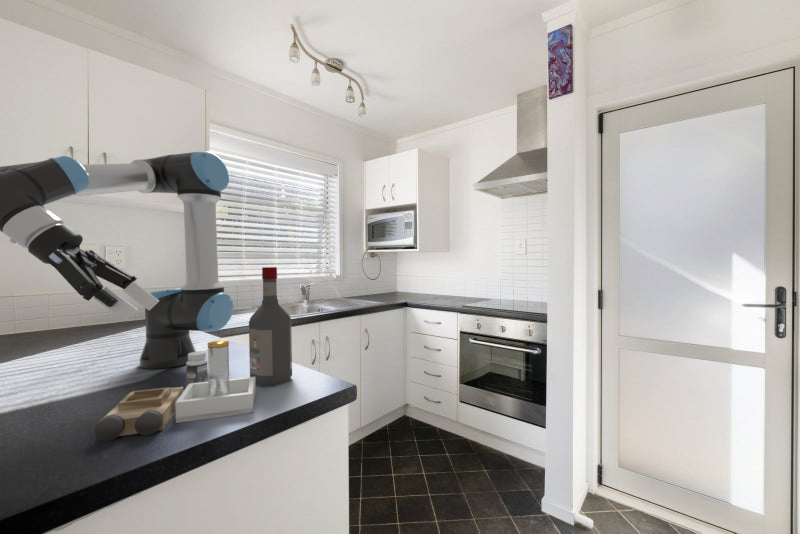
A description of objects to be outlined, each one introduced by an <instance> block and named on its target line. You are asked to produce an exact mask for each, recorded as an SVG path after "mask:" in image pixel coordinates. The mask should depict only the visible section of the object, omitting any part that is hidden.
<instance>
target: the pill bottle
mask: <svg viewBox="0 0 800 534" xmlns="http://www.w3.org/2000/svg"><path fill="white" fill-rule="evenodd" d="M206 357H207V353H206V351H202V350H200V351H199V350H198V351H196V352H192V353H189V354H188V360H189V361H187V363H186V364H185V369H186V370H185V373H186V375H185V376H186V378H185V379H186V383H185V384H186V387H187V386H188V384H190V383H200V382H209V377H208V358H206Z"/></svg>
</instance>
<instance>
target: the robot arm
mask: <svg viewBox="0 0 800 534" xmlns="http://www.w3.org/2000/svg"><path fill="white" fill-rule="evenodd" d="M229 176H230V175H229V172H228V168H227V166H226V164H225V163H224V162H223V160H222V158H220V157H219V156H218V155H217V154H215V152H214V153H213V152H211V151H199V150H198V151H196V150H195V151H193V152H185V153H184V152H182V153H176V154H165V155H163V156H162V155H161V156H157V157H153V158H152V157H151V158H146V159H134V160H132V161H131V162H130V163H97V164H96V163H95V164H93V163H92V164H87V163H86V164H81V163H80V161H78V160H77V159H75V158H73V157H71V156H66V155H62V156H57V157H51V158H48V159H46V160H41V161H35V162H27V163H20V164H18V163H17V164H13V165H11V164H10V165H4V166H3V165H2V166H0V232H2V233H3V234H4V235H5V236H7V237H9V242H10V243H12V244H18V245H19V246H20V247H22V248H23V249H27V250H28V253H29V254H31V255H32V256H34V257H35V258H36V259H38V260H39V261H41V262H42V263H43V264H48V265H51V266H52V267H54V269H55V270H56V271H58V274H60V275H61V276H62V277H63V278H64V279H65V281H66V282H67V283H68V284H69V285H70V287H72V288H73V289H74V290H75V291H76V293H78V294H79V295H80V296H82V298H83V299H84V300H86V301H90V300H92V298H93V299H94V300H95V301H97V302H98V303H99V304H101V305H103V306H104V307H105V308H107V309H108V310H109V311H111V312H112V313H114V315H116V316H117V317H119V318H120V319H121V320H123V321H124V322H127V321H128V320H130V318H131V317H132V316H133V315H135V313H136V312H138V310H139V309H138V308H137V307H135V306H134V305H133V304H131V303H130V302H129V301H128V300H127V299H125V298H124V297H122V296H121V295H120V294H119V293H117V292H115V290H113V289H111V288H110V286H105V287H104V285H103V284H102V282H101V280H100V279H102V280H104V281H106V282H108V283H111V284H113V285H115V286H116V287H118V288H121V289H122V291H123V292H124V293H125V294H126V295H128V296H129V297H130V298H132V299H133V300H134V301H135V302H137V303H138V304H139V305H141V306H142V307H143V308H144V313H145V314H144V315H145V317H144V318H145V343H144V346H143V348H142V351H141V353H140V357H139V367H140V368H142V369H146V370H152V369H153V370H154V369H155V370H157V369H167V368H168V369H169V368H173V367H180V366H183V365H184V366H185V365H186V363H187V361H189V360H188V354H189V353H192V352H197V351H196V348H195V346H194V344H193V341H192V339H191V335H190V331H194V332H204V333H206V332H217V331H220V330H222V329H223V328H224V327H225V326H227V324H228V322H229V321H230V320H231V318H232V315H233V312H234V301H233V299H232V297H231V296H230V295H229V294H227V293H226V292H225V286H224V284H223V283H221V282H220V281H219V265H218V262H219V261H218V259H219V257H218V236H217V235H218V233H217V232H218V231H217V207H216V205H217V203H218V202H220V200H221V199H222V194H221V193H222V191H224V190H226V188H227V186H228V185H229V183H230V177H229ZM136 191H137V192H138V193H141V194H153V193H154V194H156V193H157V194H158V193H159V194H161V193H163V194H177V198H178V199H179V200H181V202H182V203H183V220H184V248H185V251H184V252H185V273H186V274H185V277H186V282H185V283H184V285H182V287H181V288H171V289H163V290H155V291H150V292H149V291H147V290H146V289H145V288H143V287H142V286H141V285H140V284H138V283H137V282H136V281H137V280H138V278H137V277H136V276H135V275H131V274H129V273H127V271H124V270H123V269H121V268H120V267H117V266H116V265H114V264H113V263H111V262H109V261H108V260H106V259H105V258H103V257H102V256H100V255H99V254H97V253H96V252H95V251H94V250H91V249H90V250H83V249H81V248H80V246H81V244H82V243H83V240H84V239H83V236H82V235H81V234H80V233H79V232H78V231H77V230H75V229H74V228H72V227H71V226H69V225H68V224H64V221H63V219H61V218H60V217H59V216H57V215H56V214H55V213H54V212H52V211H50V210H49V209H48V208H46V207H45V205H47V204H51V203H54V202H57V201H58V200H61V199H64V198H72V197H81V196H84V197H85V196H93V195H94V196H96V195H105V194H114V193H124V192H126V193H127V192H136ZM98 277H99V278H100V279H99V278H98Z"/></svg>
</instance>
